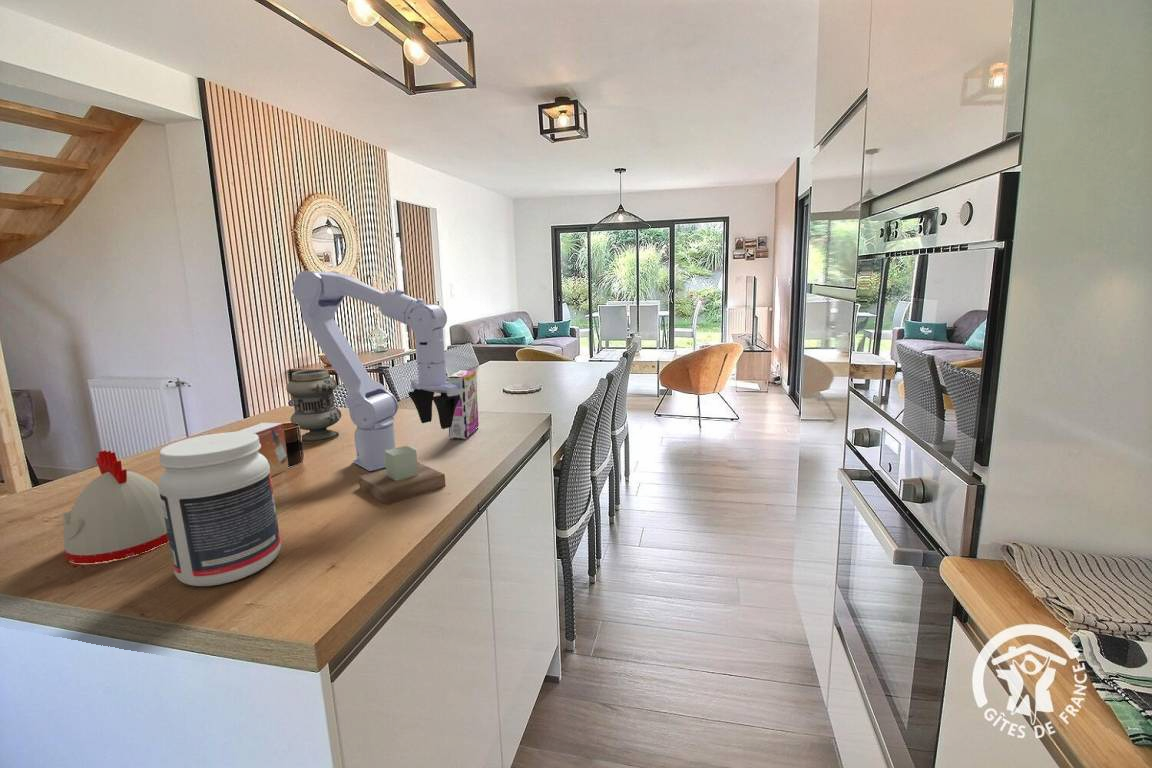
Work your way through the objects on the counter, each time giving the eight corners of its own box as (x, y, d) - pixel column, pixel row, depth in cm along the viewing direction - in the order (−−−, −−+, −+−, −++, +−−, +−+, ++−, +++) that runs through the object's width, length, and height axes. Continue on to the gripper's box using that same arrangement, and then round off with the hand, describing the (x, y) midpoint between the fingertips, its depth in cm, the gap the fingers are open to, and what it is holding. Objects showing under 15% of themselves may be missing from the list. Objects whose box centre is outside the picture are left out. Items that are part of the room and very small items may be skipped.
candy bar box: (468, 440, 134) (463, 376, 131) (449, 440, 134) (444, 376, 131) (480, 428, 145) (476, 369, 142) (462, 428, 145) (458, 369, 142)
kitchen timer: (158, 517, 92) (143, 435, 90) (197, 533, 86) (182, 445, 83) (52, 552, 81) (30, 459, 78) (87, 575, 74) (65, 473, 71)
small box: (261, 482, 108) (254, 433, 106) (238, 481, 109) (230, 432, 107) (289, 469, 116) (283, 422, 114) (268, 467, 117) (261, 422, 115)
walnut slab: (360, 490, 104) (358, 476, 103) (416, 474, 112) (415, 460, 111) (387, 507, 95) (385, 492, 95) (445, 488, 103) (444, 474, 103)
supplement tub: (301, 546, 80) (286, 430, 77) (235, 595, 68) (213, 459, 64) (228, 541, 82) (209, 428, 79) (150, 588, 70) (124, 456, 66)
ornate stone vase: (300, 433, 144) (291, 368, 140) (347, 429, 147) (340, 366, 143) (287, 446, 132) (278, 376, 129) (338, 442, 135) (330, 373, 132)
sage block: (386, 475, 103) (384, 450, 102) (408, 469, 106) (406, 445, 105) (396, 480, 100) (393, 455, 99) (418, 474, 103) (416, 450, 102)
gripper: (396, 361, 112) (401, 423, 114) (434, 367, 102) (439, 434, 105) (425, 357, 117) (429, 417, 120) (464, 363, 107) (468, 427, 110)
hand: (436, 424), depth 113 cm, fingers open, 7 cm apart
